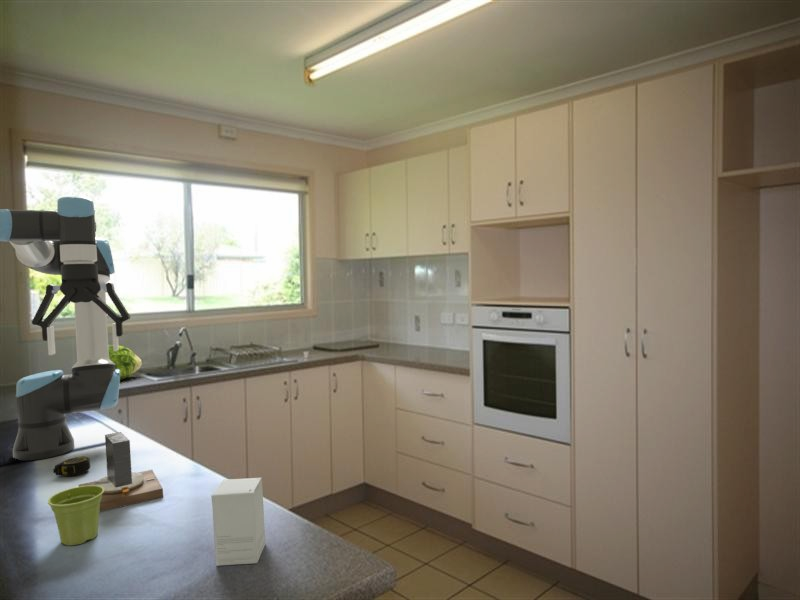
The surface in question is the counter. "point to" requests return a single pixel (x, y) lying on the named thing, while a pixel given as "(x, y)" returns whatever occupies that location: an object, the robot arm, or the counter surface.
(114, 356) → the lettuce
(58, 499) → the plant pot
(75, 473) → the tape measure
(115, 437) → the dial knob
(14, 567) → the counter surface
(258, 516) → the supplement box
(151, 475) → the dial base plate
